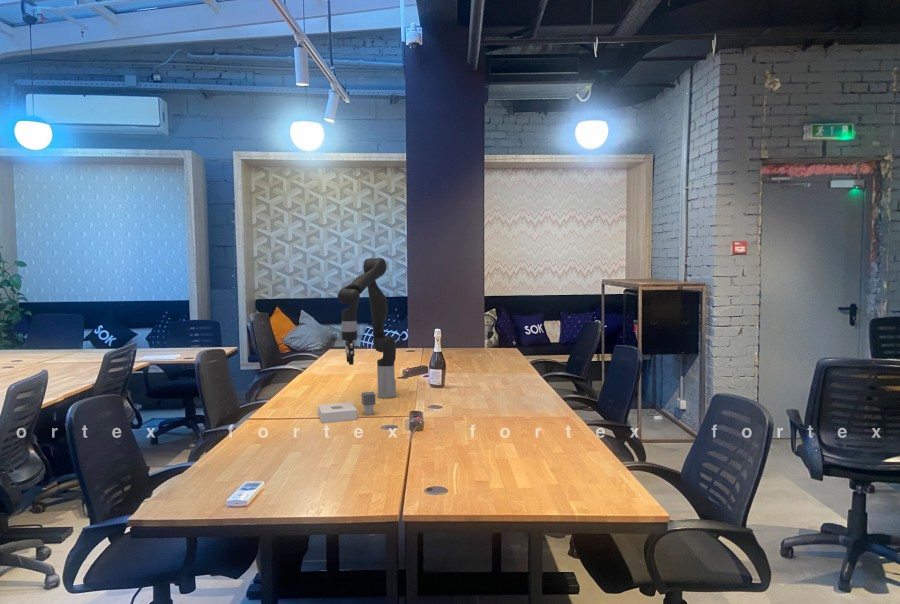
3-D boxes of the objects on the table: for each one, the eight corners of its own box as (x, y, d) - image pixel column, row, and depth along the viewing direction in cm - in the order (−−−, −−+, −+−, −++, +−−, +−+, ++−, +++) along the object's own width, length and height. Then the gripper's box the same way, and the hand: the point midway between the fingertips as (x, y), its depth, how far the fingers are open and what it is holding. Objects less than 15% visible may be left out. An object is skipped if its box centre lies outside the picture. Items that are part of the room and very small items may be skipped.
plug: (373, 412, 287) (372, 391, 286) (375, 414, 281) (375, 394, 281) (361, 413, 285) (361, 392, 284) (364, 415, 280) (363, 395, 279)
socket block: (351, 411, 289) (351, 402, 288) (357, 419, 273) (356, 410, 273) (318, 414, 283) (317, 405, 283) (322, 423, 268) (321, 413, 268)
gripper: (359, 331, 280) (359, 365, 281) (355, 328, 293) (355, 360, 294) (343, 332, 278) (344, 366, 279) (340, 328, 291) (340, 361, 292)
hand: (350, 363), depth 287 cm, fingers open, 8 cm apart
